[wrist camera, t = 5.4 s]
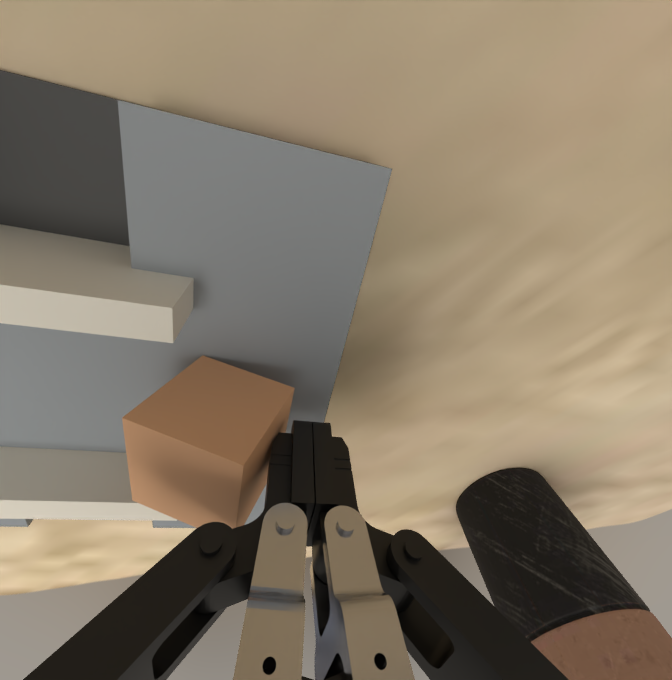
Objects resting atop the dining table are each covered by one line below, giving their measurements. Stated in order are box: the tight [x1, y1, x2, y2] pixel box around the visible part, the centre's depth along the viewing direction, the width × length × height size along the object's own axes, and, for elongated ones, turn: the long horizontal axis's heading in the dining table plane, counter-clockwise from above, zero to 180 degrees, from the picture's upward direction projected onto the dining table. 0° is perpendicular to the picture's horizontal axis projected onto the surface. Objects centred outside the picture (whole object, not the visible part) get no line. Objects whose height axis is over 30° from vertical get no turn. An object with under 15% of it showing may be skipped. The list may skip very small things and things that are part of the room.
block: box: [122, 355, 295, 529], centre depth 12 cm, size 4×4×4 cm
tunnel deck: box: [0, 70, 392, 528], centre depth 13 cm, size 20×22×5 cm
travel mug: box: [456, 468, 672, 680], centre depth 17 cm, size 8×8×20 cm
